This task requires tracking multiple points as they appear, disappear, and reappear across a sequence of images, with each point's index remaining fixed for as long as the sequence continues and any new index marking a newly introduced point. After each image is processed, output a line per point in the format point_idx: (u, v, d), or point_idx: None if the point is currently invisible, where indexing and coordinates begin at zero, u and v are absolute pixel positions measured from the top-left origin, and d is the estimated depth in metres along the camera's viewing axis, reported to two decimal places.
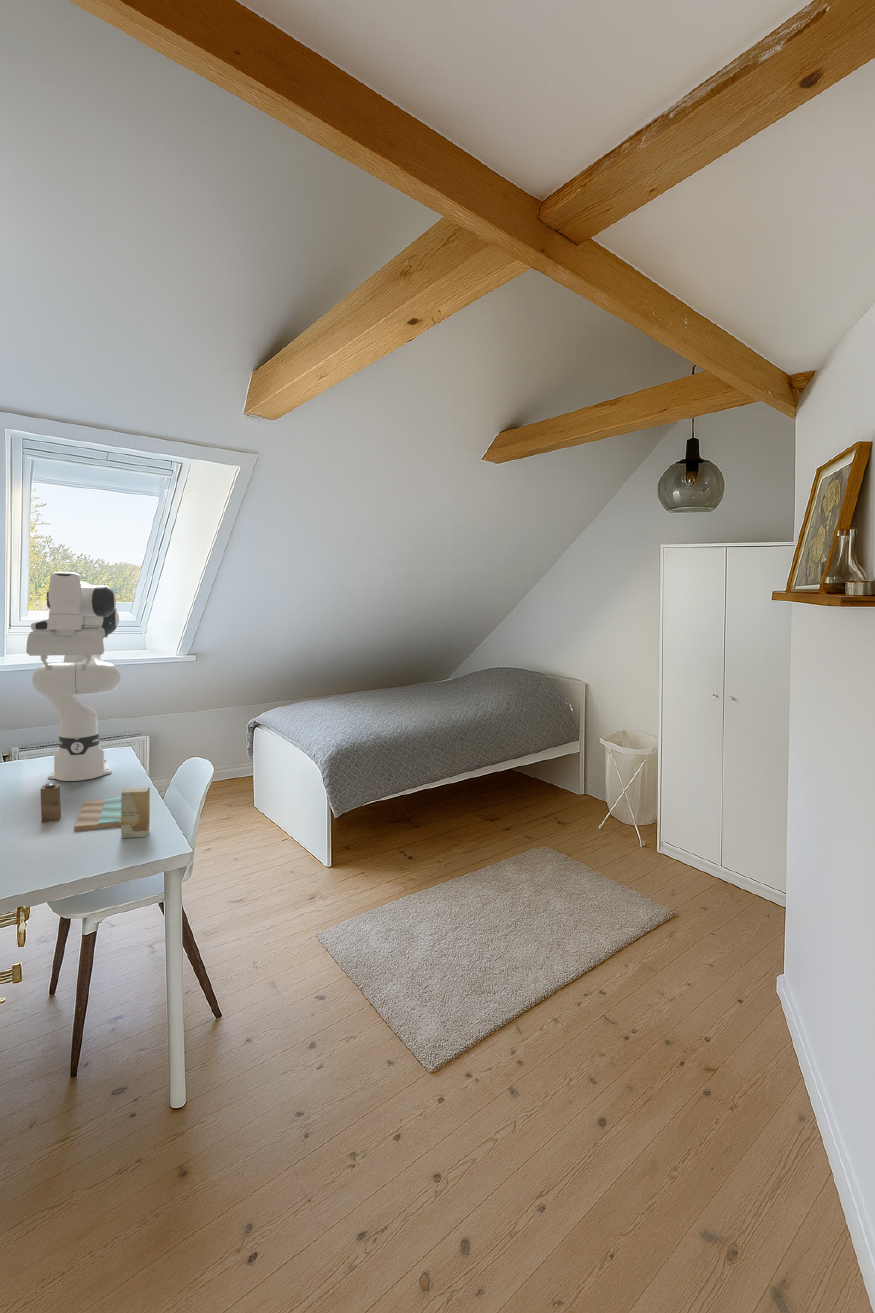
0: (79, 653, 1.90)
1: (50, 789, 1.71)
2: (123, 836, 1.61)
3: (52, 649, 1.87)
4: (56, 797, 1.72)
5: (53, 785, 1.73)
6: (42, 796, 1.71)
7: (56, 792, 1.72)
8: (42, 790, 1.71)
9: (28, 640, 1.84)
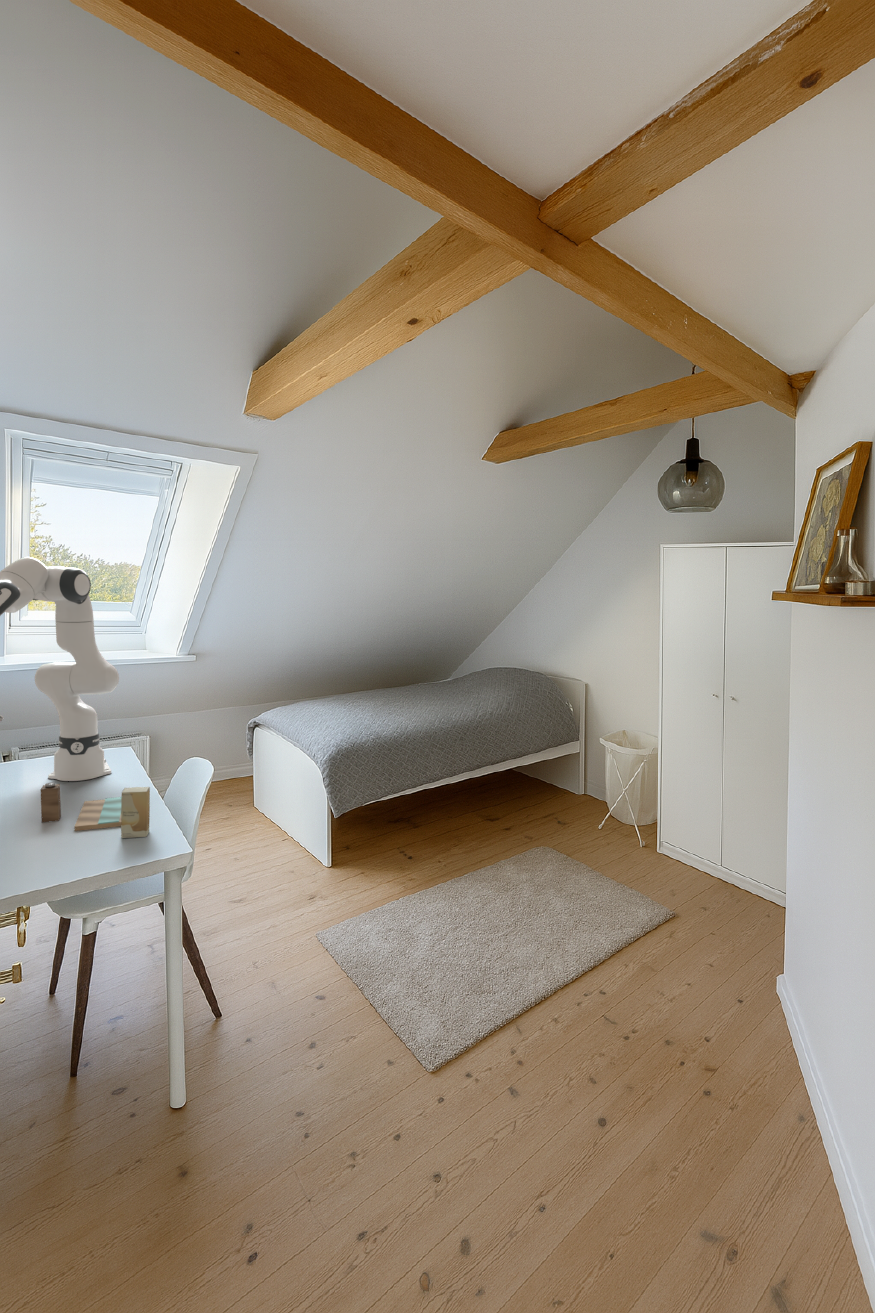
0: None
1: (50, 789, 1.71)
2: (123, 836, 1.61)
3: None
4: (56, 797, 1.72)
5: (53, 785, 1.73)
6: (42, 796, 1.71)
7: (56, 792, 1.72)
8: (42, 790, 1.71)
9: None
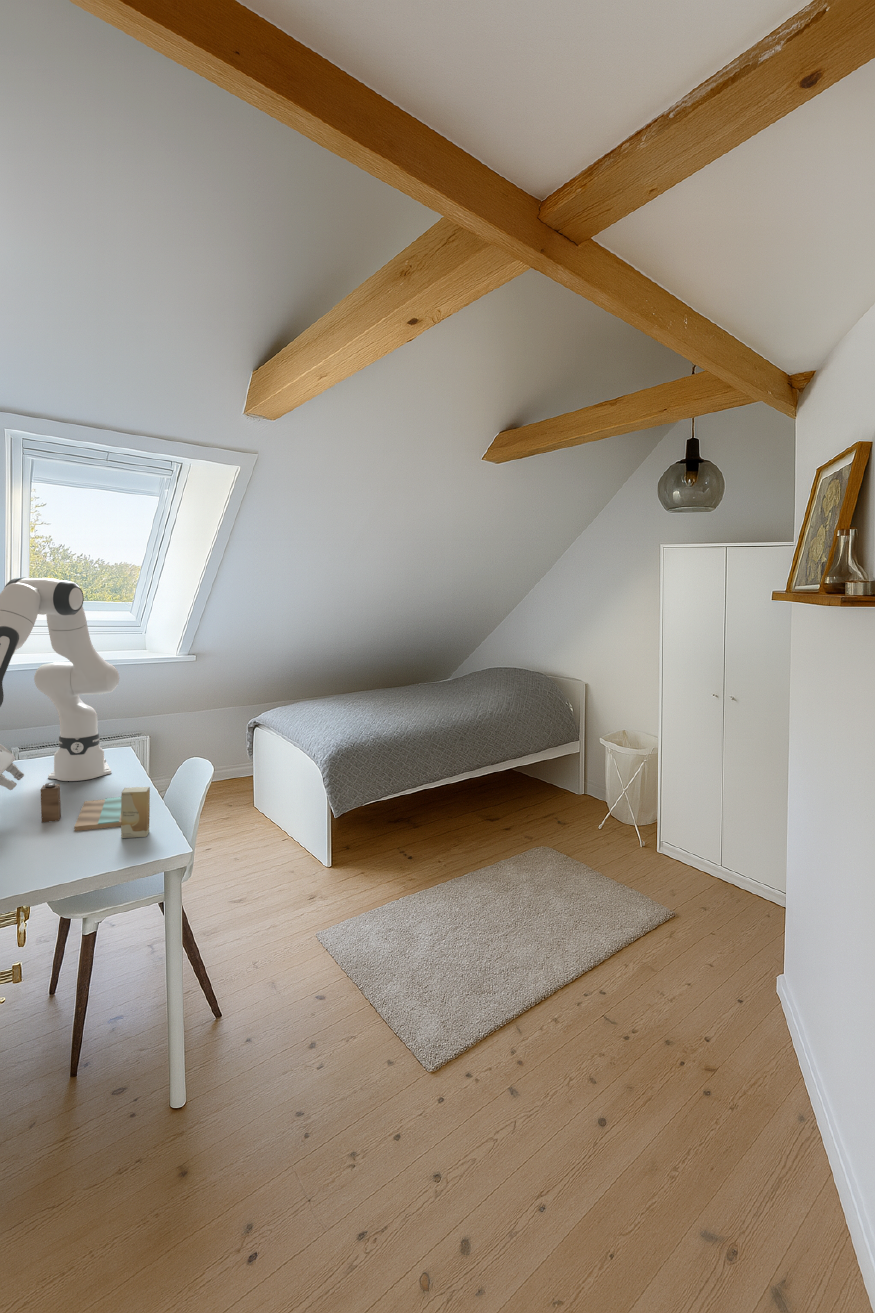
0: None
1: (50, 789, 1.71)
2: (123, 836, 1.61)
3: None
4: (56, 797, 1.72)
5: (53, 785, 1.73)
6: (42, 796, 1.71)
7: (56, 792, 1.72)
8: (42, 790, 1.71)
9: None
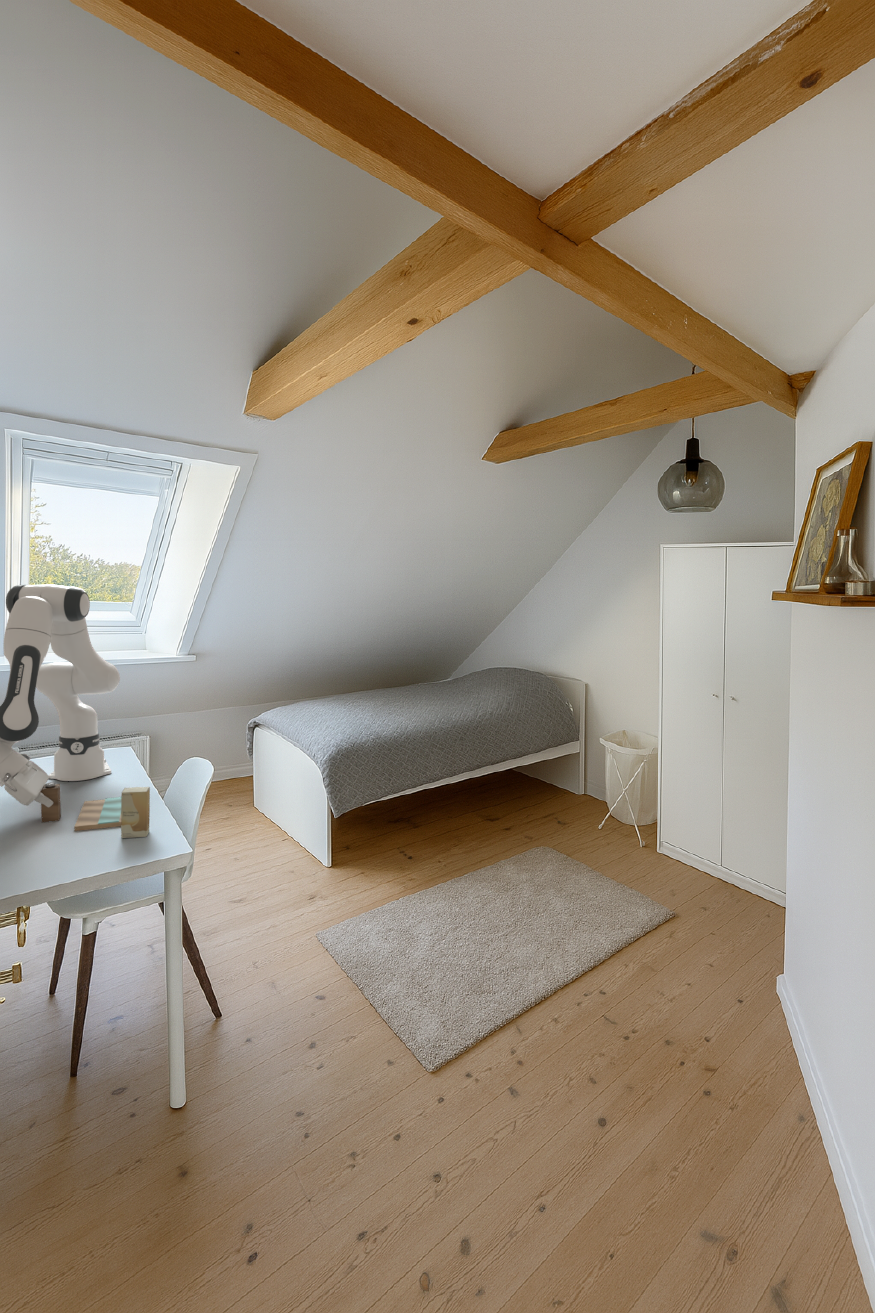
0: None
1: (50, 789, 1.71)
2: (123, 836, 1.61)
3: None
4: (56, 797, 1.72)
5: (53, 785, 1.73)
6: None
7: (56, 792, 1.72)
8: (42, 790, 1.71)
9: None
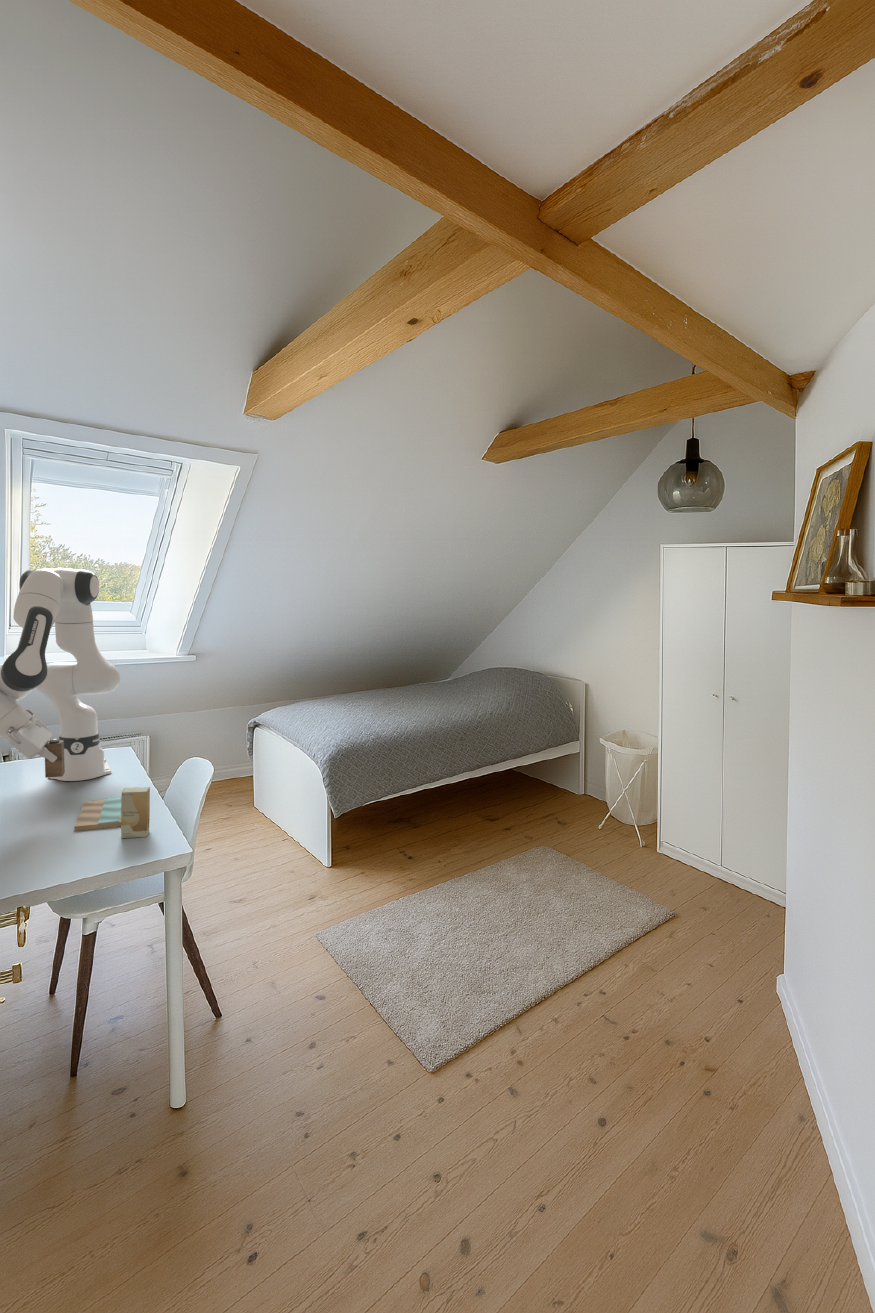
0: None
1: (54, 744, 1.71)
2: (123, 836, 1.61)
3: None
4: (60, 752, 1.71)
5: (57, 740, 1.72)
6: None
7: (60, 747, 1.71)
8: (46, 745, 1.70)
9: None
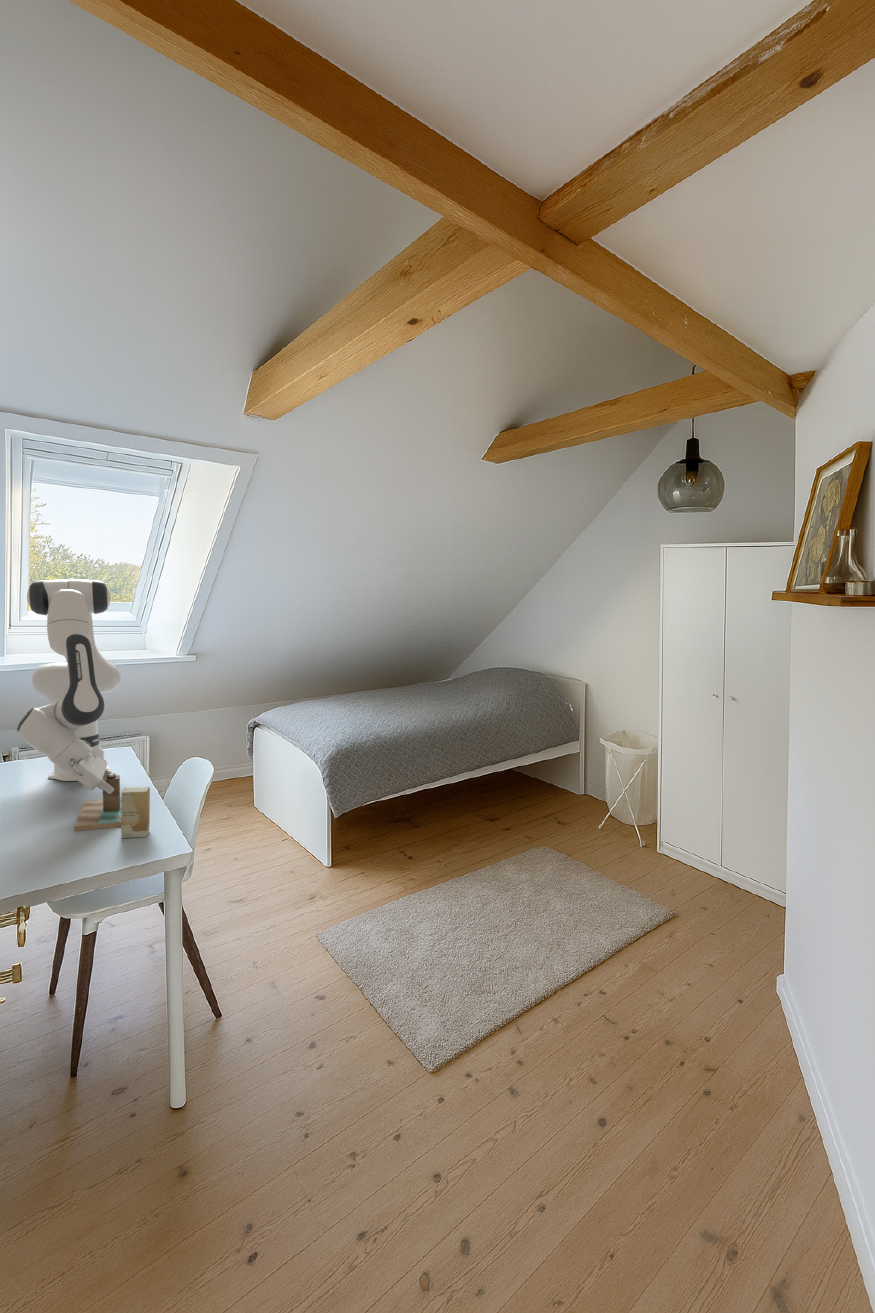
0: None
1: (111, 779, 1.76)
2: (123, 836, 1.61)
3: None
4: (117, 787, 1.77)
5: (114, 776, 1.77)
6: None
7: (117, 782, 1.77)
8: (104, 780, 1.75)
9: None
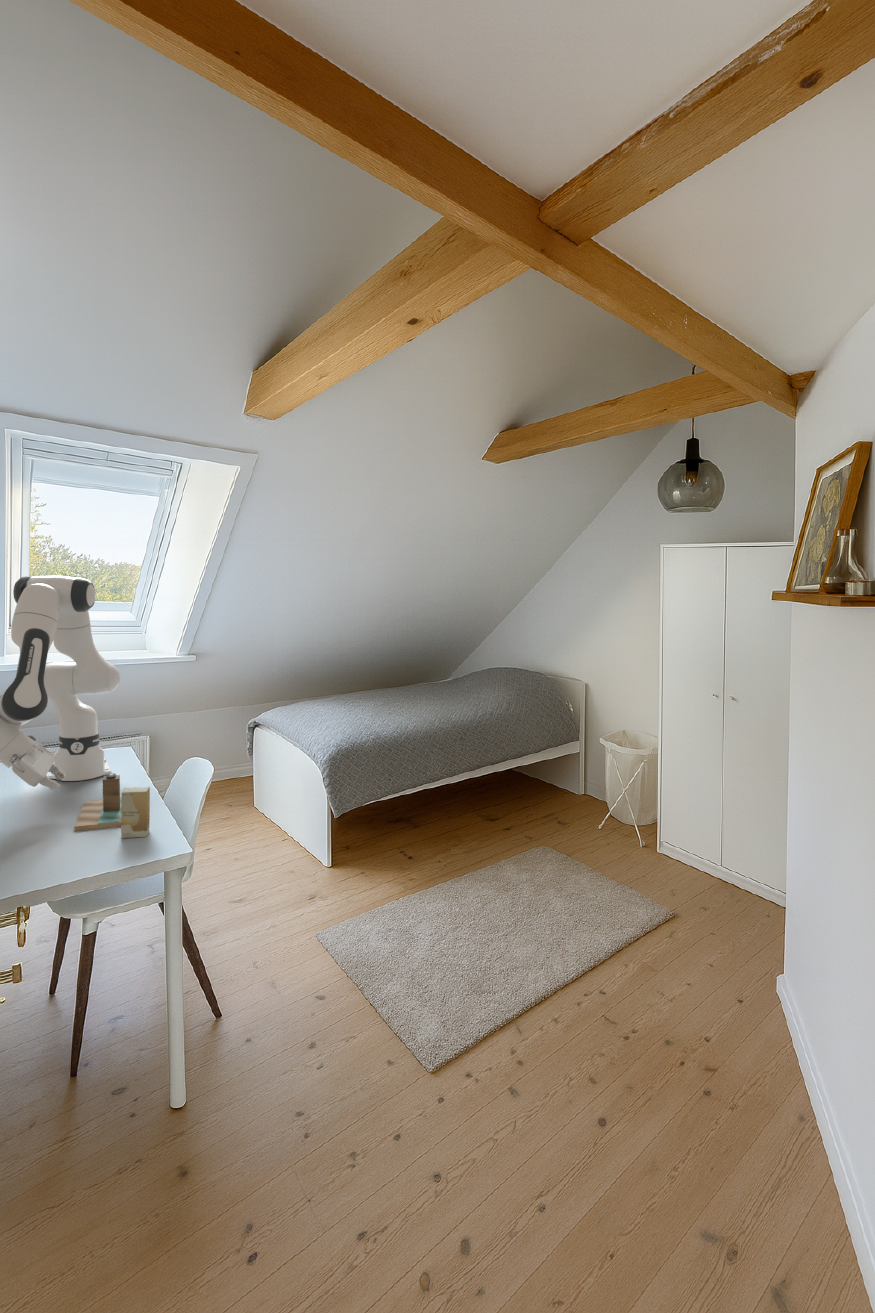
0: None
1: (111, 779, 1.76)
2: (123, 836, 1.61)
3: None
4: (117, 787, 1.77)
5: (114, 776, 1.77)
6: (104, 786, 1.76)
7: (117, 782, 1.77)
8: (104, 780, 1.75)
9: None
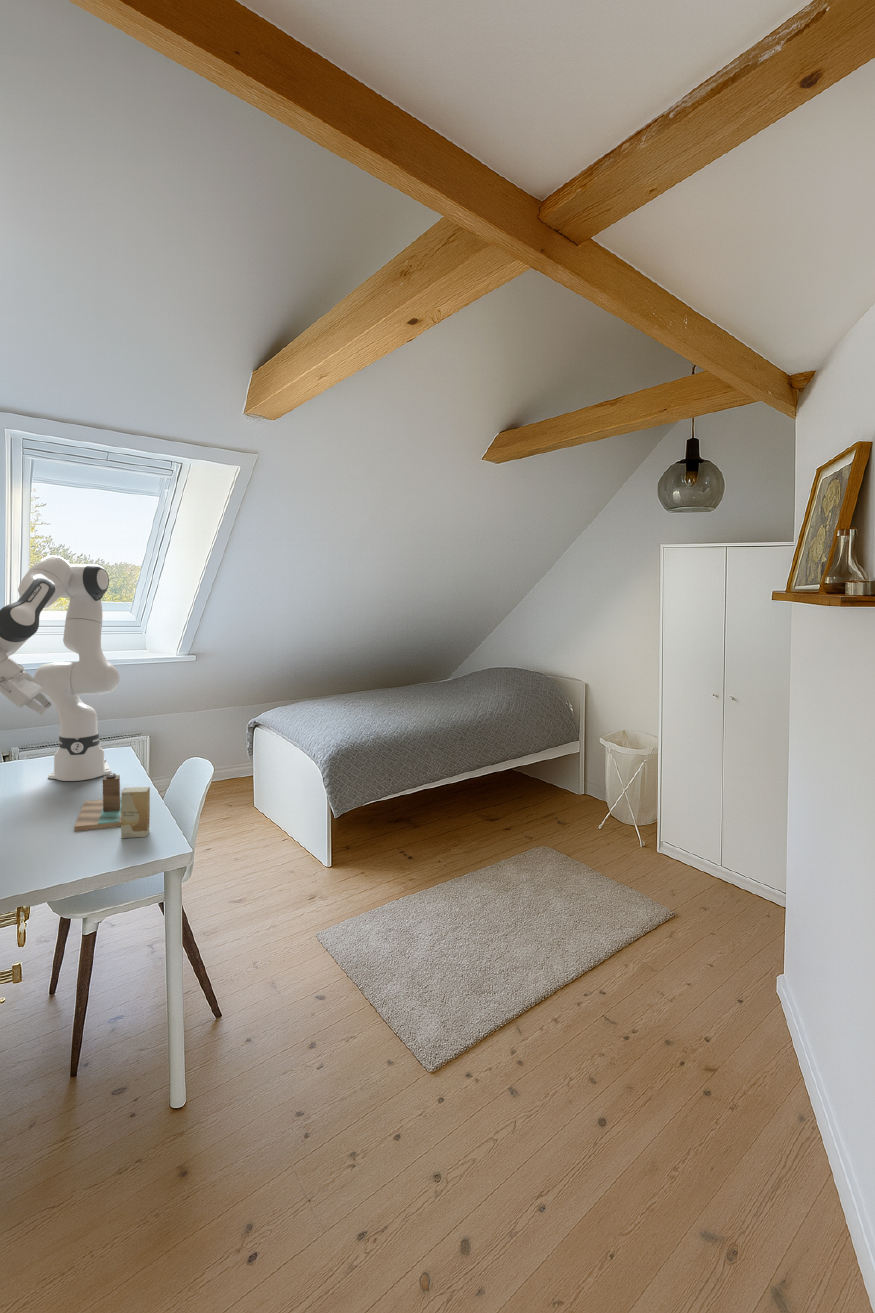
0: None
1: (111, 779, 1.76)
2: (123, 836, 1.61)
3: None
4: (117, 787, 1.77)
5: (114, 776, 1.77)
6: (104, 786, 1.76)
7: (117, 782, 1.77)
8: (104, 780, 1.75)
9: None
